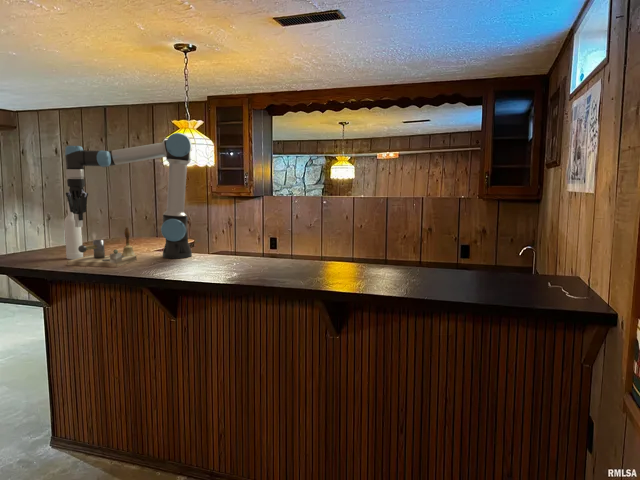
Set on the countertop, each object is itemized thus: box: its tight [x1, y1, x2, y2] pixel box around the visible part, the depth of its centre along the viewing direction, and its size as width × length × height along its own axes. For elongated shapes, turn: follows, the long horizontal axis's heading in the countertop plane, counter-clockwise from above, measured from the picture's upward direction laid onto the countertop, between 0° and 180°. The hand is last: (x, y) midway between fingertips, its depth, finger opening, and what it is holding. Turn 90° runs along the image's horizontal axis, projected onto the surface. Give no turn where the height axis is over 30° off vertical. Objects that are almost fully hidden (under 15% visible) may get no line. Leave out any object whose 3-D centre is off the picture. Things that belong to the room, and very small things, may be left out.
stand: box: [66, 249, 137, 268], centre depth 227 cm, size 26×18×8 cm
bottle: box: [63, 201, 84, 260], centre depth 238 cm, size 8×8×30 cm
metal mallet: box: [78, 238, 106, 258], centre depth 224 cm, size 15×5×9 cm, turn 164°
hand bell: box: [121, 226, 138, 257], centre depth 245 cm, size 8×8×16 cm
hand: (79, 226), depth 222 cm, fingers closed
